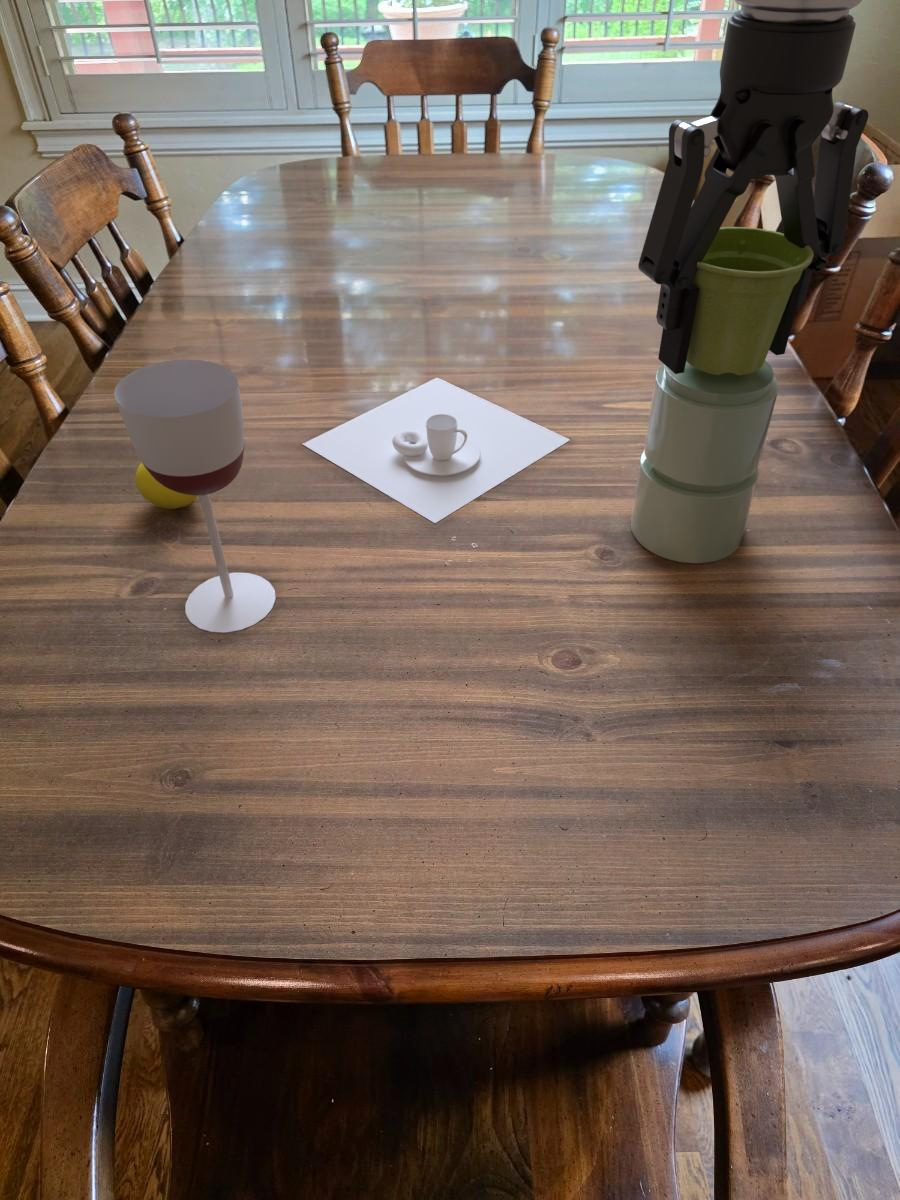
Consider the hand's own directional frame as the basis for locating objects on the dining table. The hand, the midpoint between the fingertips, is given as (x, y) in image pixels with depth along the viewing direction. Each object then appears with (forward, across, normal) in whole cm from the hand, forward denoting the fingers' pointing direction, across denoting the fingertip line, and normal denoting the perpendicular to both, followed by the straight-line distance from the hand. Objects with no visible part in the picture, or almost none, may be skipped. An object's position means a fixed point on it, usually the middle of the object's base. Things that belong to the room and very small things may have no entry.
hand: (721, 356), depth 68 cm
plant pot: (0, 0, 0) cm, 0 cm away
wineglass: (+17, +41, -4) cm, 45 cm away
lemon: (+17, +44, -20) cm, 51 cm away
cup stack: (+17, 0, 0) cm, 17 cm away
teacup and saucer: (+17, +17, -22) cm, 33 cm away
